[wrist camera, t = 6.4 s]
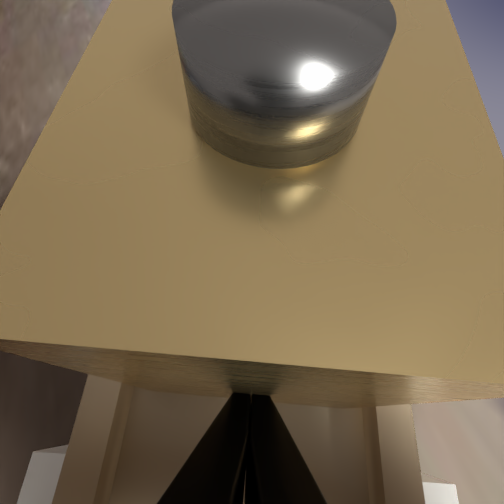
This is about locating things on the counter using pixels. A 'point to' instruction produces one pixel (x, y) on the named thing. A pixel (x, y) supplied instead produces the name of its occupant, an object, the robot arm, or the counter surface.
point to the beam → (196, 424)
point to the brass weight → (265, 208)
